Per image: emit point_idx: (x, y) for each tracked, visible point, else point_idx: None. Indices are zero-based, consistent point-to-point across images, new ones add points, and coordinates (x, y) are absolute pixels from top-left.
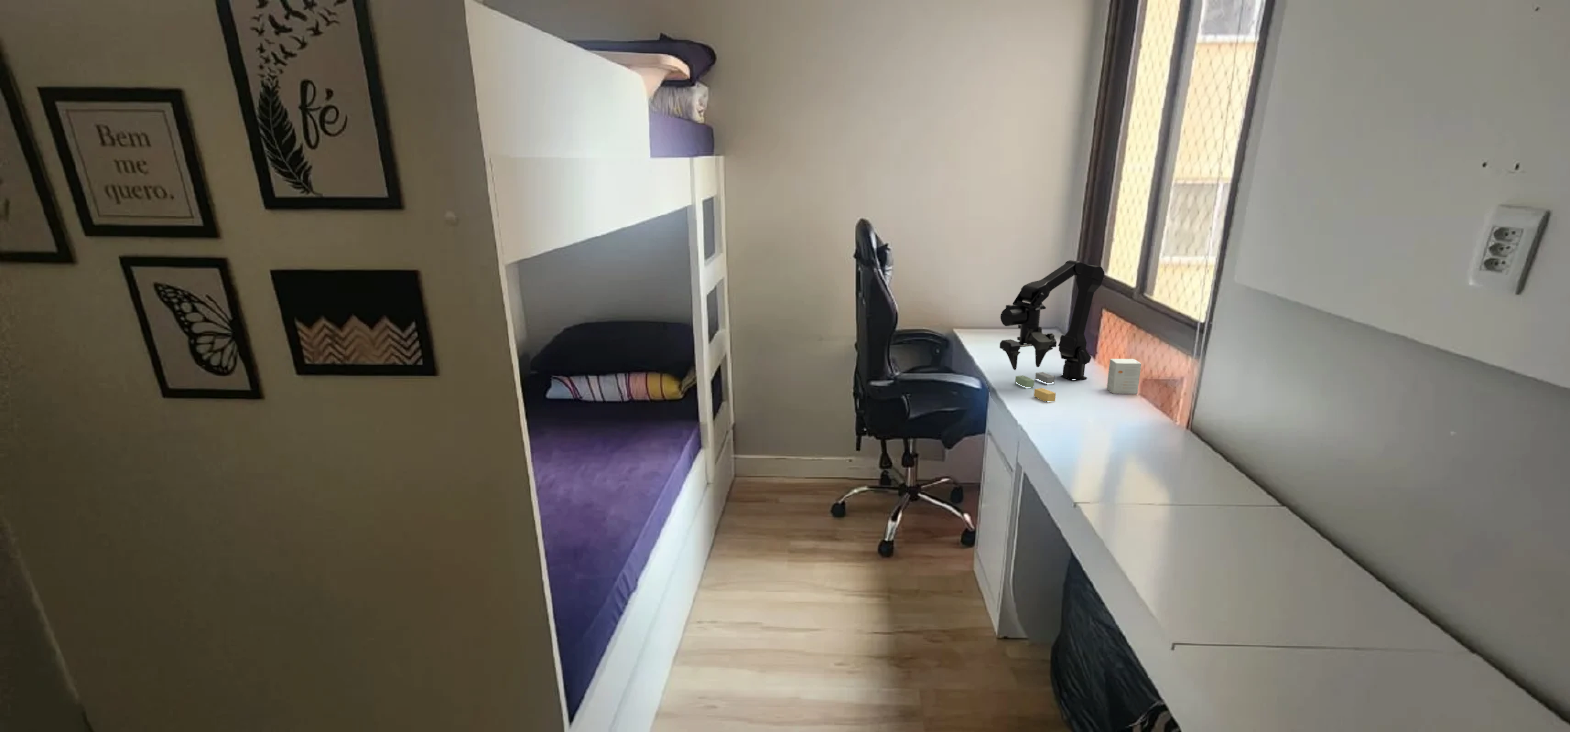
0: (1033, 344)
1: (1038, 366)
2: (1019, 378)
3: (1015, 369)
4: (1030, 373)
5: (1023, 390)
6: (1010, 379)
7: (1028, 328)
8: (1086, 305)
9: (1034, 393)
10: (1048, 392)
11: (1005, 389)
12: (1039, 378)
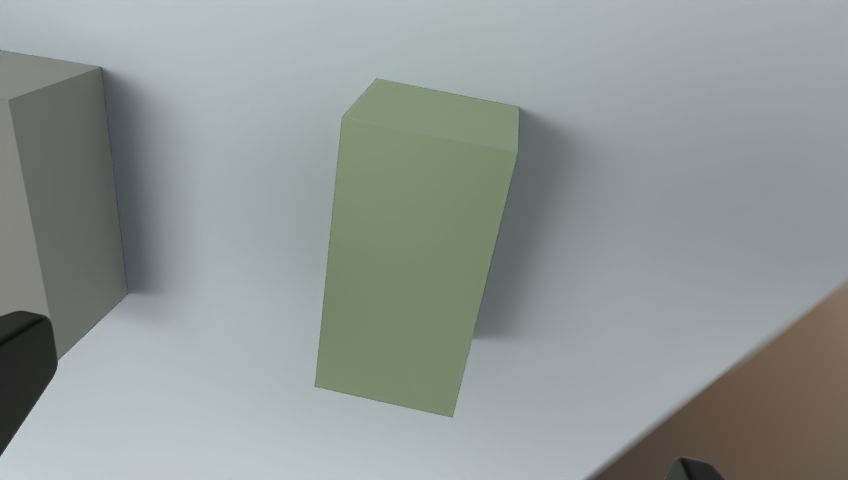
0: None
1: (29, 321)
2: (473, 330)
3: (704, 464)
4: (24, 465)
5: (623, 72)
6: (370, 461)
7: None
8: None
9: None
10: None
11: (808, 254)
12: (85, 249)
